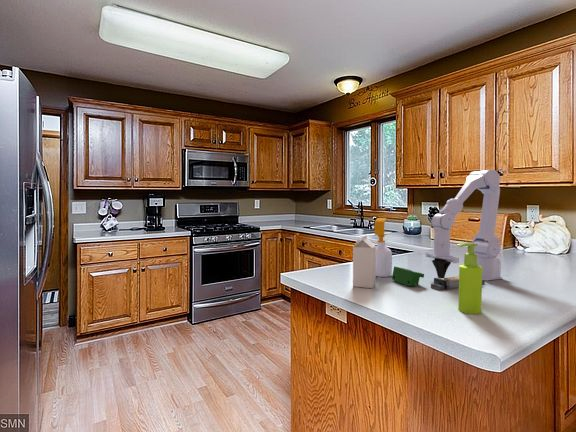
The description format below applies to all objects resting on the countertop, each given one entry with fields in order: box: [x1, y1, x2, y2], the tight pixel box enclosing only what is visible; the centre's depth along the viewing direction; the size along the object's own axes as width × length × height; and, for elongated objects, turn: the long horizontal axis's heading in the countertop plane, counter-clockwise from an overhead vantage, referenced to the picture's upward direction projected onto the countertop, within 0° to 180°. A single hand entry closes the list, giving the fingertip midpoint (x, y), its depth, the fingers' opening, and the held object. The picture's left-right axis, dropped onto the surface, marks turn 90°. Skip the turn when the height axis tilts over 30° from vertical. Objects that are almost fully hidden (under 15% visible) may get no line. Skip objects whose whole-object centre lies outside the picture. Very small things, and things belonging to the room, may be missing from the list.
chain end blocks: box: [430, 277, 486, 291], centre depth 127 cm, size 23×6×3 cm, turn 112°
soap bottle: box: [374, 217, 393, 278], centre depth 144 cm, size 9×9×25 cm
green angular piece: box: [391, 266, 425, 288], centre depth 131 cm, size 12×6×9 cm, turn 15°
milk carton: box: [352, 234, 377, 289], centre depth 127 cm, size 7×7×19 cm
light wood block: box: [443, 275, 459, 280], centre depth 127 cm, size 9×4×3 cm, turn 112°
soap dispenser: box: [456, 242, 483, 315], centre depth 98 cm, size 6×7×20 cm
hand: (441, 277), depth 134 cm, fingers closed
